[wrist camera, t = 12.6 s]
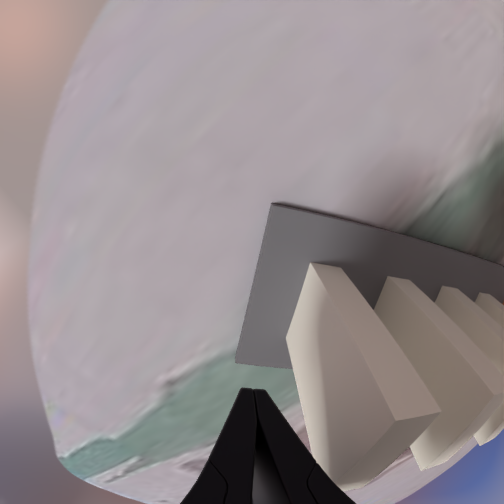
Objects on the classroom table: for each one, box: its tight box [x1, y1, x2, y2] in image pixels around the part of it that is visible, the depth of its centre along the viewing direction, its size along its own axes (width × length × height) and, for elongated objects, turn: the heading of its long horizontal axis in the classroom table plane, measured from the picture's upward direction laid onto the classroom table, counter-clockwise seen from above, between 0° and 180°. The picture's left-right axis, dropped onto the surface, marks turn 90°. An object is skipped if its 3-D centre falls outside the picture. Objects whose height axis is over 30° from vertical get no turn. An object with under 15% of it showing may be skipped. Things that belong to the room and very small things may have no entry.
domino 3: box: [435, 286, 504, 446], centre depth 12 cm, size 2×5×10 cm, turn 168°
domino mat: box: [235, 203, 504, 369], centre depth 17 cm, size 10×27×1 cm, turn 78°
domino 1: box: [286, 262, 442, 491], centre depth 11 cm, size 2×5×10 cm, turn 168°
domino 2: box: [374, 276, 504, 471], centre depth 11 cm, size 2×5×10 cm, turn 168°
